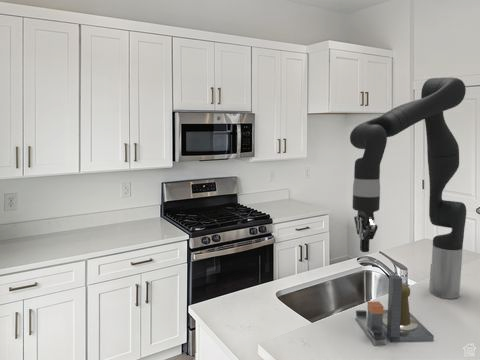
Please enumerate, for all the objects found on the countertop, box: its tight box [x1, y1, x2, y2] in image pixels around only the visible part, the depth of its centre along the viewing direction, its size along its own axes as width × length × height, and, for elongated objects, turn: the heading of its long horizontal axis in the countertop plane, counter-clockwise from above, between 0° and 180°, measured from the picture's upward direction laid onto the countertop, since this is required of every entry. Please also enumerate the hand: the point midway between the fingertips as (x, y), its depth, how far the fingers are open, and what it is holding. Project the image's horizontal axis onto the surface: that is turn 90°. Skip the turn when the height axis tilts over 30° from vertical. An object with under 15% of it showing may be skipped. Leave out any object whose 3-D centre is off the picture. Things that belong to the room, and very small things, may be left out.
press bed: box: [382, 274, 435, 343], centre depth 112 cm, size 16×12×18 cm
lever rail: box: [355, 309, 387, 346], centre depth 110 cm, size 15×3×3 cm, turn 2°
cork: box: [400, 283, 411, 326], centre depth 112 cm, size 6×6×11 cm
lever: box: [366, 301, 385, 335], centre depth 106 cm, size 5×3×8 cm, turn 2°
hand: (364, 251), depth 114 cm, fingers closed
